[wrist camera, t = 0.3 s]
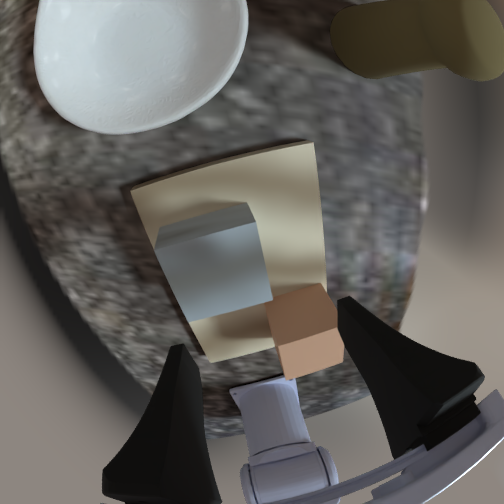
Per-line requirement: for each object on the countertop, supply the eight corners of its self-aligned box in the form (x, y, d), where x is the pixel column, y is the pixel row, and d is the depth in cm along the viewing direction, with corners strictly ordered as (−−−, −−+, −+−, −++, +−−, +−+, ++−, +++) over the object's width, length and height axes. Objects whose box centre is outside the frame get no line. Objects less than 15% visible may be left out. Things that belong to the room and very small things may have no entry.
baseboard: (324, 323, 27) (338, 352, 24) (209, 355, 27) (213, 387, 23) (307, 140, 17) (333, 151, 14) (133, 186, 17) (118, 209, 14)
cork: (328, 70, 15) (456, 66, 6) (329, -4, 12) (441, -53, 3) (398, 87, 16) (521, 110, 7) (399, 20, 13) (515, 11, 4)
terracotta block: (322, 322, 25) (342, 361, 21) (272, 337, 25) (285, 380, 21) (320, 282, 23) (345, 324, 19) (263, 299, 23) (278, 346, 18)
